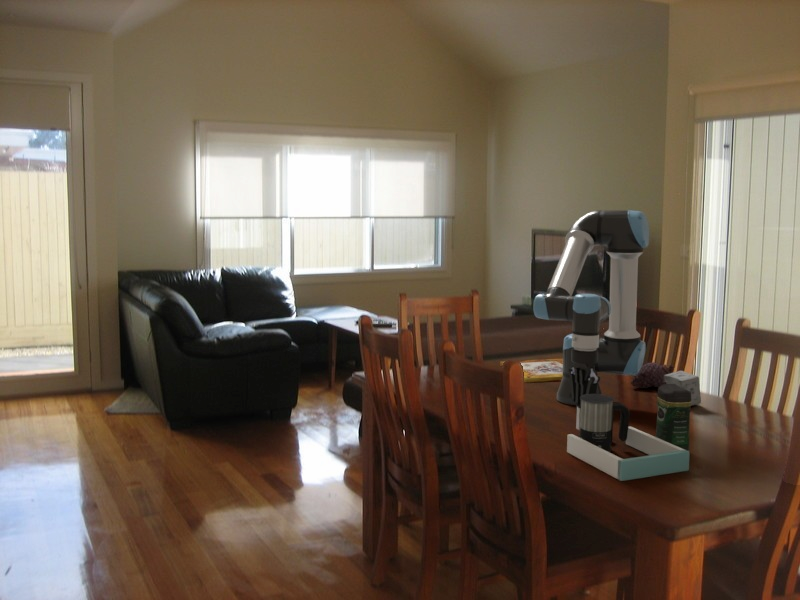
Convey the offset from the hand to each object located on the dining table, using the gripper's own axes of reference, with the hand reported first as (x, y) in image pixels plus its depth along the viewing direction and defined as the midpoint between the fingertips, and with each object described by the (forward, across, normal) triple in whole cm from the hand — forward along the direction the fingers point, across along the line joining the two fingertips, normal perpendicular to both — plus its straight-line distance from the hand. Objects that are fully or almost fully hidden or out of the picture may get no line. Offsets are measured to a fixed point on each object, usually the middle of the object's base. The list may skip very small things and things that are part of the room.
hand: (581, 428), depth 244 cm
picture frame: (+4, -80, +36) cm, 88 cm away
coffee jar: (+3, +18, +18) cm, 25 cm away
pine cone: (+3, -45, +59) cm, 74 cm away
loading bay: (+3, +20, +1) cm, 20 cm away
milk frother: (+3, +6, +1) cm, 7 cm away
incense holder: (+3, -22, +54) cm, 58 cm away
